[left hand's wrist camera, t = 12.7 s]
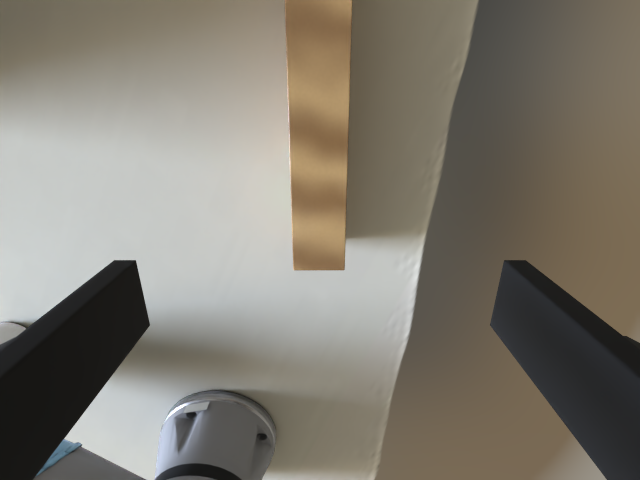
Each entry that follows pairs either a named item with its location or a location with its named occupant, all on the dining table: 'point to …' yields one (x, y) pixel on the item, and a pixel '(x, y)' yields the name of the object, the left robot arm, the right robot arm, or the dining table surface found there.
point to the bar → (318, 128)
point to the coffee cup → (9, 331)
